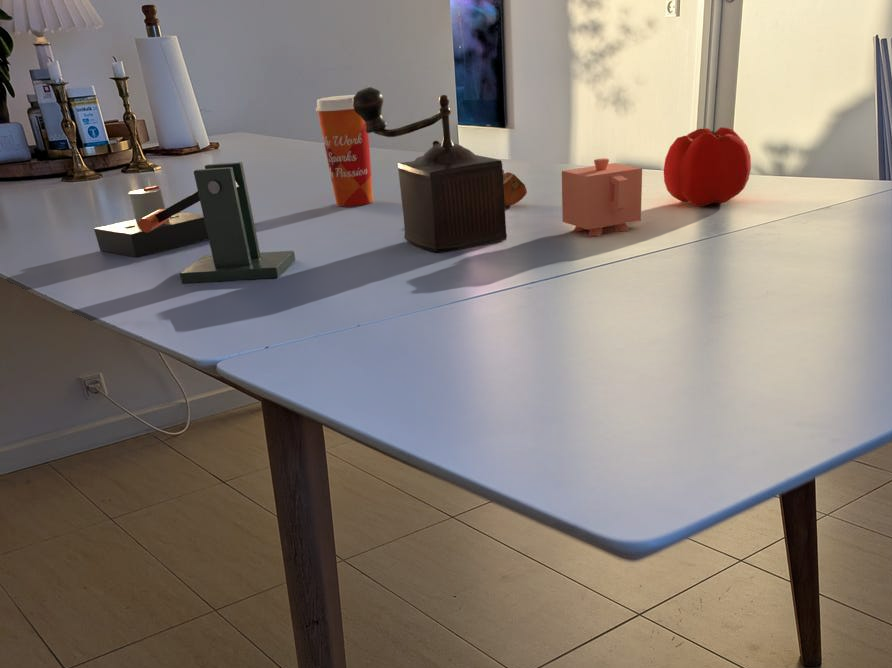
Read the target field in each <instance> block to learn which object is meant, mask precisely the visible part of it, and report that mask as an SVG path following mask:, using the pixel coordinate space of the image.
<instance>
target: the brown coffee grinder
mask: <svg viewBox="0 0 892 668" xmlns="http://www.w3.org/2000/svg"><path fill="white" fill-rule="evenodd" d="M354 95H355V96H354V97H353V107H354V110H355V112H356V113H357V114H358V115H359V116H361V118H362V119H363V120H364V121H365V123H366V132H367V133H368V134H371V133H373V134H375V135H378V136H381V137H387V138H396V137H401V136H404V135H407V134H410V133H413V132H416V131H419V130H421V129H424V128H428V127H430V126H433V125H434V124H436V123H438V122H439V121H441V128H442V141H441V143H440V141H438V140H433V141H432V147H430V148H429V149H428V150H427V151H426V152H425V153H424V154H423V155H421V156H418V157H416V158H415V159H414V160H411V161H404V162H398V163H397V170H398V181H399V187H400V188H399V189H400V197H401V205H402V214H403V227H404V235H403V238H404V239H405V241H407V242H408V243H410V245H413V246H415V247H418V248H420V249H422V250H425V251H428V252H433V253H436V254H437V253H438V254H439V253H447V252H453V251H458V250H462V249H468V248H473V247H479V246H484V245H488V244H492V243H493V244H494V243H497V242H501V241H505V240H507V238H508V237H507V236H508V235H507V224H506V206H505V202H504V185H503V170H504V168H503V161H502V160H501V159H497V158H493V157H489V156H483V155H479V154H475V153H474V152H472V150H470V149H468V148H466V147H464V146H463V145H461V144H458V143H455V142H454V141H453V140H452V139H451V129H450V128H451V127H450V115H451V114H452V110H451V108H450V107H449V104H450V98H449V96H448V94H447V95H446V94H442V95H440V96H439V98H438V103H439V106H440V108H439V110H438V113H437V114H435V115H434V114H433V115H432V116H430V117H428V118H424V119H422V120H418V121H415V122H413V123H410V124H406V125H404V126H401V127H397V128H392V129H389V128H388V129H386V128H387V126H388V123H387V121H386V120H385V117H383V115H382V112H383V105H384V94H382V92H381V91H380V90H379V89H377V88H374V87H372V86H369V87H368V86H367V87H365V88H363V89H360V90H358V91H357V92H356V93H355V94H354Z"/></svg>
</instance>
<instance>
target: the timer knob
mask: <svg viewBox="0 0 892 668" xmlns="http://www.w3.org/2000/svg"><path fill="white" fill-rule="evenodd" d="M128 196H129V201H130V203H131V208H132V212H133V216H134V220H136V223H137V224H139V221H140V220H141V219H142V218H144V217H146V216H148V215H150V214H152V213H154V212H156V211H158V210H159V209H166V206H165V201H164V198H163V193H162V190H161V188H160V186H159V185H154V186H149V187H145V188H141V189H136V190H131V191H129V192H128Z"/></svg>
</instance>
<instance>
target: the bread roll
mask: <svg viewBox="0 0 892 668" xmlns="http://www.w3.org/2000/svg"><path fill="white" fill-rule="evenodd" d="M503 185H504V202H505V207H511V206H514V205H516V204H517V203H519V202H520V201H521V200H523V199H524V198H525V197H526V196H527V194H528V191H527V187H526V184H525V183H523V182H522V181H521V179H520V178H518V176H517V175H516V174H514V173H513V172H508V171H507V172H505V170H504V169H503Z"/></svg>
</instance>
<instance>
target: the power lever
mask: <svg viewBox="0 0 892 668" xmlns="http://www.w3.org/2000/svg"><path fill="white" fill-rule="evenodd" d="M226 168H227V167H226ZM235 182H236V187H237V188H238V187H239V185H238V183H237V181H236V179H235ZM199 202H200V198H199V194H198V190H197V191H195V192H193V193H192V194H190V195H187V196H185V198H182V199H181V200H178V201H177V202H176V203H174V204H172V205H170V206H168V207H165V209H159V210H158V211H156V212H154V213H152V214H150V215H148V216H146V217H144V218H142V219H141V220H140V221H139V227H140V229H141V230H142V231H144V232H150V231H152V230H153V229H155V228H157V227H159V226H160V225H162V224H164V223H166V222H167V221H168V220H169V218H170V217H171V216H173V215H175V214H177V213H179V212H183V211H184V210H186V209H188V208H190V207H191V206H193V205H195V204H197V203H199Z"/></svg>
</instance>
